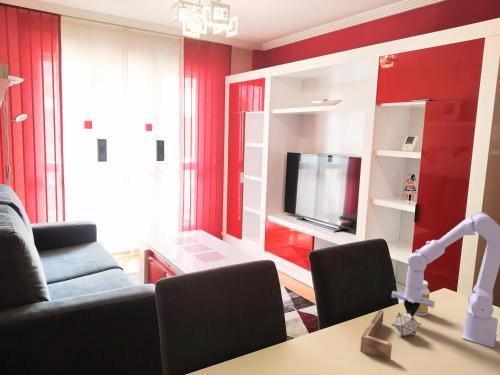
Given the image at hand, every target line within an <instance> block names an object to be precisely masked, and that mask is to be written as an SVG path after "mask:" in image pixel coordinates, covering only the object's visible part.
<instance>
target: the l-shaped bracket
mask: <svg viewBox="0 0 500 375" xmlns="http://www.w3.org/2000/svg"><path fill="white" fill-rule="evenodd" d="M384 313H385V312H384V310H381V309H379V310H378V312H376V314H375V316H374V317H373V319H372V320H371V321H370V323H369V324H368V326H367V327H366V329H365V330H364V332H363V333H362V335H361V340H360V349H359V352H361V353H365V354H367V355H370V356H373V357H376V358H378V359H379V358H380V359H382V360H385V361H388V362H390V361H391V358H392V349H393V343H390V342H389V341H387V340H383V339H379V338H377V337H376V335H377V333H378V332H379V330H380V328H381V326H382V325H383V321H384Z"/></svg>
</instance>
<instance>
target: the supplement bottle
mask: <svg viewBox="0 0 500 375" xmlns="http://www.w3.org/2000/svg"><path fill="white" fill-rule="evenodd" d="M428 286H429V283H428V281H427V280H425V279H424V280H423V289H422V297H424V298H426V299H429V300H430V294H431V292H430V290H429V288H428ZM428 311H429V306H426V305H422V304H420V306H419V308H418V310H417V311H416V312H415V314H414V315H416V316H423V317H424V316H426V315H427V314H428Z"/></svg>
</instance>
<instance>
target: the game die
mask: <svg viewBox="0 0 500 375" xmlns="http://www.w3.org/2000/svg"><path fill="white" fill-rule="evenodd" d="M410 313H411V312H409V313H407V312H406V313H400V312H397V314H398V315H396V319H395V322H394V323H392V324H391V326H392V327H393V326H394V327H395V328H396V330H397V331H398V332H399V334H400V335H401V339H403V338H404V337H406V336H413V337H415V335H417V332H416V330H417V329H418V327H419V326H422V323H419V322H418V321H417V320H416V318H414V317H413V316H412V315H411V314H410Z"/></svg>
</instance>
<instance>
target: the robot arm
mask: <svg viewBox="0 0 500 375" xmlns="http://www.w3.org/2000/svg"><path fill="white" fill-rule="evenodd" d="M475 232H476V233H477V234H479V235H480V236H481V237H483V238H484V240H485V241H486V246H485V250H484V253H483V257H482V262H481V266H480V270H479V273H478V277H477V280H476V284H475V285H474V286H473V290H472V291H471V292H470V293H469V295H468V296H467V301H468V303H469V307H468V308H467V309H466V315H465V316H466V317H465V324H464V328H463V330H462V335H461V336H462V337H461V339H462V340H466V341H468V342H469V341H470V342H473V343H476V344H480V345H483V346H487V347H490V348H495V345H496V344H495V343H496V341H497V336H498V335H497V332H498V331H497V330H498V318H496V317H494V316H492V315H493V314H494V307H493V301H494V295H493V294H494V293H493V291H494V287H495V282H496V280H497V276H498V272H499V268H500V225H499V224H498V223H497V222H496V220H494V219H493V218H492V217H491V216H489V214H487V213H485V212H482V211H479V212H475V213H472V215H471V216H468V217H466V218H465V219H464V220H462V221H461V222H459V223H458V224H457V225H456V226H455V227H454V228H452V229H451V230H449V232H446V234H445V235H443V236H442V237H441V238H439V239H432V240H431V241H430V240H428V241H426V242H425V245H423V246H422V247H420V248H419V249H418V248H417V249H416V250H415V252H412V253H410V254H409V256H408V258H407V261H408V262H407V263H408V267H407V272H406V277H405V278H406V280H405V290H404V292H401V291H400V292H399V291H395V290H393V291H392V292H391V298H393V299H399V300H403V306H404V308H405V311H406V314H407V313H409V312H411V313H410V314H411V315H412V316H413V318H414V316H415V315H416V314H415V312H416V311H417V310H418V308H419V306H420V304H422V305H426V306H428V307H430V308H431V309H434V308H435V303H436V302H435V300H433V299H432V300H431V299H430V298H429V299H426V298H424V297H422V289H423V280H424V281H425V279H424V277H425V275H424V272H425V270H426V269H427V265H428V264H431V263H432V262H434V261H435V260H436V259H438V258H439V257H441V256H442V255H443V254H445V249H446V248H447V247H448V246H450V245H451V244H453V243H455V242H457V241H458V240H459V239H461V238H462V237H465V236H476V233H475Z"/></svg>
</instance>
